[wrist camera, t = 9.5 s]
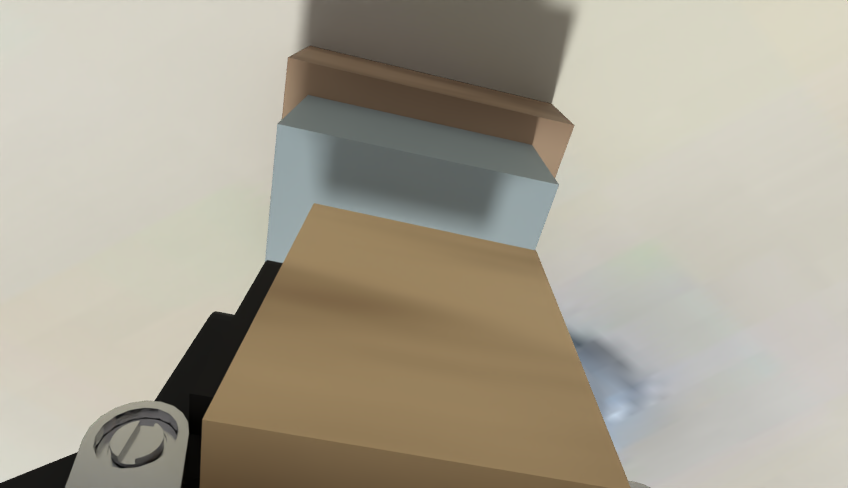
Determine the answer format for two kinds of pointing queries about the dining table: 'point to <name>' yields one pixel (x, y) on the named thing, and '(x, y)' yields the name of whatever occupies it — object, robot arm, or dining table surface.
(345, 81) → the walnut slab
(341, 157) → the slate-grey block
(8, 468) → the dining table surface
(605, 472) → the oak block
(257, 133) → the dining table surface
